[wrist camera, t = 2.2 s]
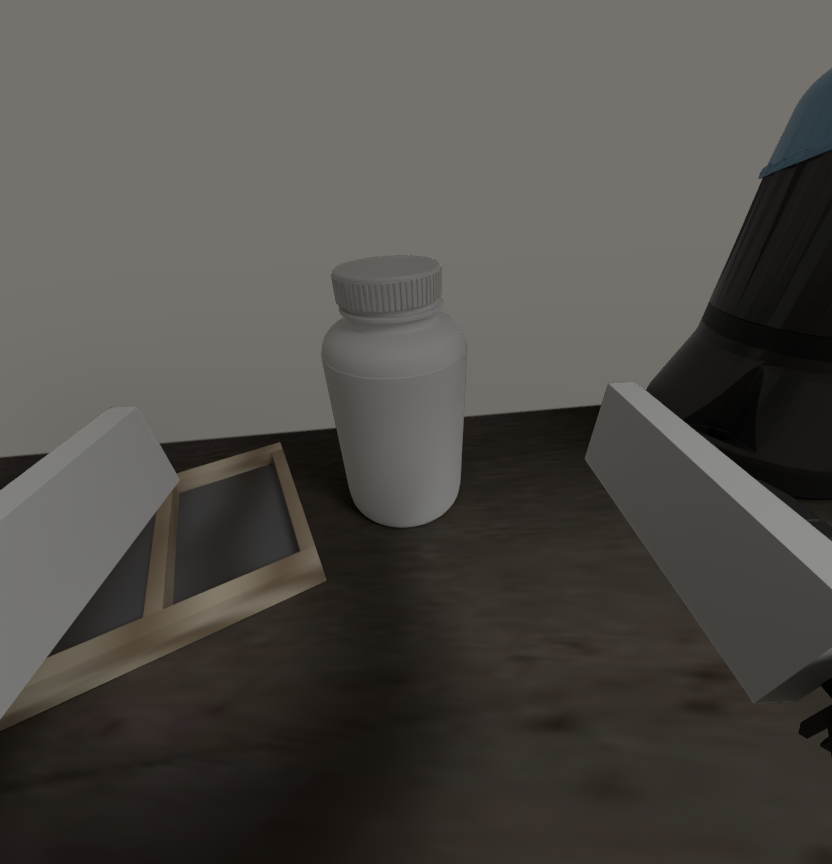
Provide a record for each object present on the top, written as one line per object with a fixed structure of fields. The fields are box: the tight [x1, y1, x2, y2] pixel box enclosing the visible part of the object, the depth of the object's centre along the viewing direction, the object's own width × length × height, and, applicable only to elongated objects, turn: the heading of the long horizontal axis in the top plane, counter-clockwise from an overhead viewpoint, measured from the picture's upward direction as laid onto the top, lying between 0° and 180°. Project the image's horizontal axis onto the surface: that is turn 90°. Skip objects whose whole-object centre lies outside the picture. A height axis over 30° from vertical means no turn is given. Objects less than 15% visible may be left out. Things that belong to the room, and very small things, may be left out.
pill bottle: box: [321, 255, 467, 528], centre depth 21 cm, size 8×8×15 cm
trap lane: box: [0, 442, 327, 731], centre depth 18 cm, size 30×12×2 cm, turn 117°
